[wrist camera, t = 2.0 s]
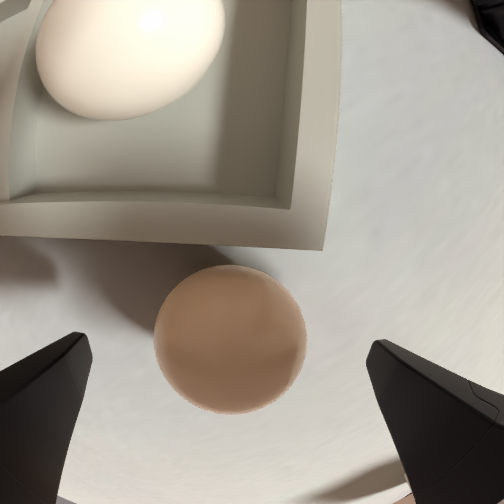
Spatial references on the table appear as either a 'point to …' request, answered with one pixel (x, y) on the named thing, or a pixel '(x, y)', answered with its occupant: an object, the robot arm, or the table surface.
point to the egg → (126, 53)
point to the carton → (182, 140)
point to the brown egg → (230, 339)
